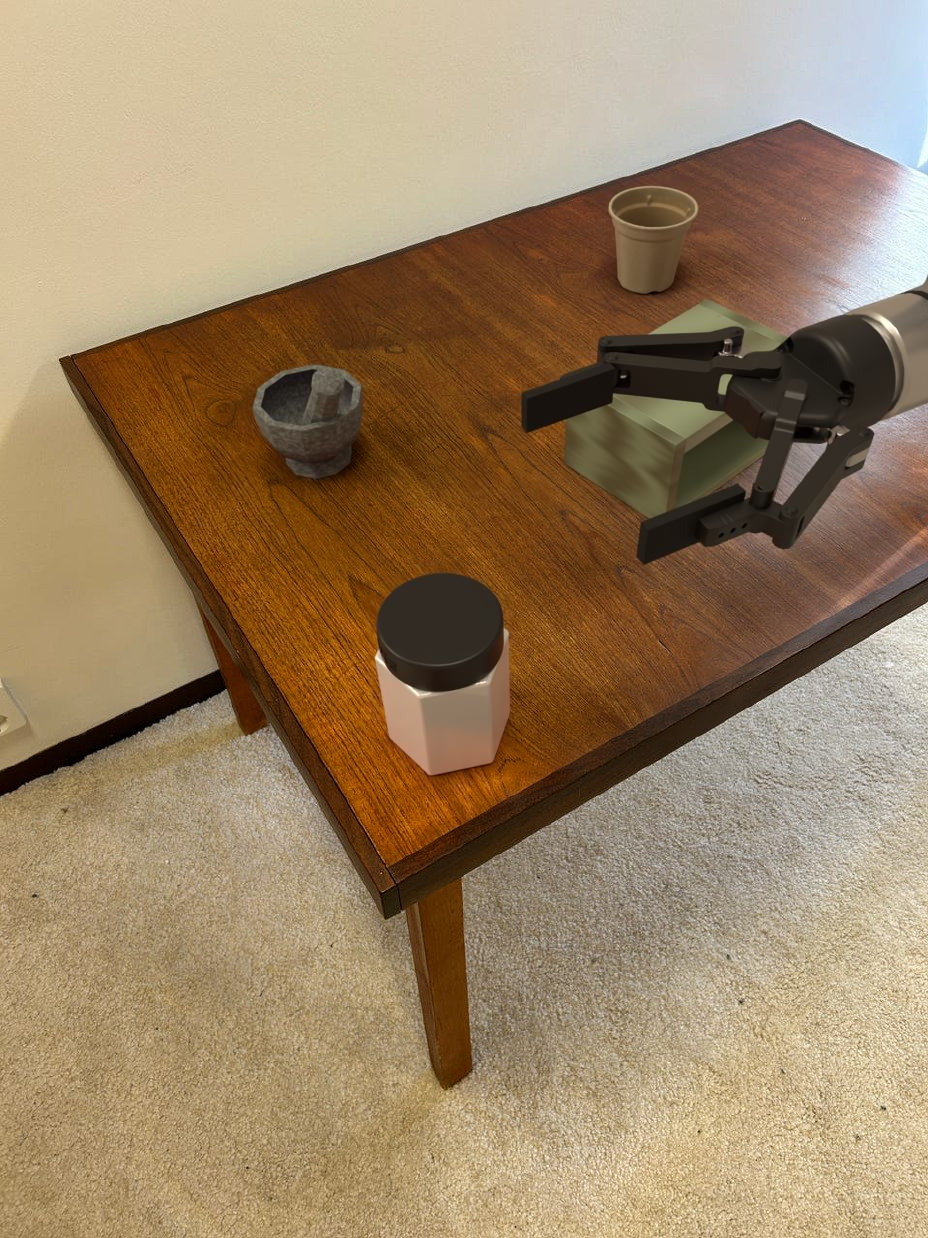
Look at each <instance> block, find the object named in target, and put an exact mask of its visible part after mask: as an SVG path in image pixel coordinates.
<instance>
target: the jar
mask: <svg viewBox="0 0 928 1238" xmlns="http://www.w3.org/2000/svg"><path fill="white" fill-rule="evenodd" d="M504 618H505V617H504V611H503V607H502V605H501V603H500V600H499V598H498V597H497V596H496V594H495V593H494V592H493V591H492V590H491V589H490V588H489V587H488V586H486V585H485V584H484V583H482V582H480V581H479V580H476V579H475V578H472V577H470V576H467V575H463V574H459V573H454V572H453V573H452V572H434V573H428V574H423V575H419V576H416V577H413V578H411V579H409V580H406V581H405V582H403V583H401V584H400V585H398V586H397V587H395V588H394V589H393V590H392V591H391V592H390V593H389V594H388V595H387V596H386V598H384V600H383V601H382V603H381V605H380V607H379V609H378V612H377V617H376V624H375V625H376V637H377V638H376V640H377V647H378V649H377V652H376V654H375V656H374V661H375V667H376V673H377V677H378V684H379V688H380V689H379V690H380V695H381V699H382V705H383V711H384V716H385V721H386V727H387V732H388V738H389V739H390V740H391V741H393V743H394V744H395V745H396V746H398V747H399V748H400V750H402V752H404V753H405V754H406V755H407V756H408V757H409V758H410V759H411V760H412V761H413V762H415V764H416V765H418V766H419V768H421V769H422V770H423V771H424V772H425V773H426V774H427V775H428V776H436V775H441V774H446V773H449V772H455V771H459V770H465V769H469V768H474V767H480V766H483V765H484V766H485V765H488V764H492V763H493V762H494V761H495V757H496V754H497V752H498V750H499V749H498V748H499V746H500V744H501V740H502V737H503V734H504V731H505V729H506V726H507V723H508V720H509V717H510V714H511V686H510V684H511V682H510V679H511V677H510V676H511V675H510V673H511V672H510V632H509V630H508V629H507V628H505V627H504V626H505V620H504Z"/></svg>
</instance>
